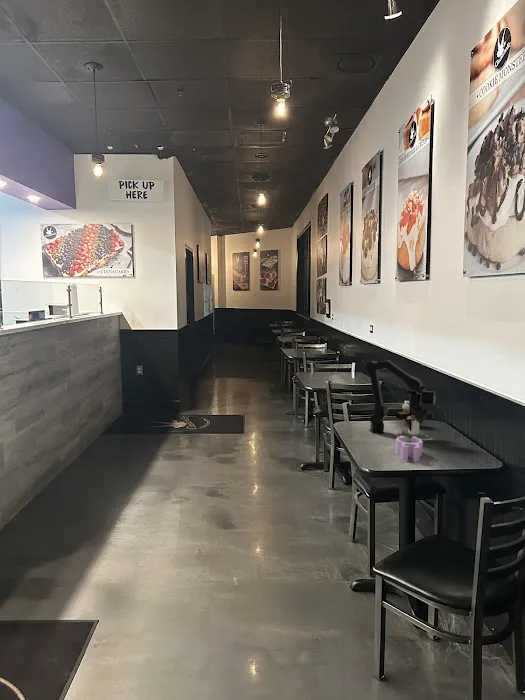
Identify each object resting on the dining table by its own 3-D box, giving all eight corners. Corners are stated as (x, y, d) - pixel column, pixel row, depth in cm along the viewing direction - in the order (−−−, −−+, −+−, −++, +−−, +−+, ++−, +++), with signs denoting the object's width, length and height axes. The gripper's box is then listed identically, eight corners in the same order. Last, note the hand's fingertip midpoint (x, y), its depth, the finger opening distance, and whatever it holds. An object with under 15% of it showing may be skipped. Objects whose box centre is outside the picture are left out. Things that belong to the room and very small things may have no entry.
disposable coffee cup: (403, 422, 323) (404, 402, 322) (419, 424, 319) (420, 404, 318) (399, 425, 315) (400, 405, 313) (416, 427, 310) (417, 407, 309)
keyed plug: (413, 437, 286) (414, 420, 284) (408, 435, 291) (408, 417, 290) (419, 437, 286) (420, 419, 285) (414, 434, 292) (415, 417, 291)
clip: (424, 463, 247) (425, 448, 246) (396, 461, 249) (397, 446, 248) (420, 450, 266) (421, 436, 266) (394, 448, 269) (395, 435, 268)
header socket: (410, 439, 283) (410, 435, 283) (401, 434, 293) (401, 430, 293) (425, 438, 285) (425, 434, 285) (416, 433, 295) (416, 429, 295)
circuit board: (404, 441, 282) (404, 438, 282) (394, 435, 293) (394, 432, 293) (432, 440, 285) (432, 437, 285) (421, 434, 297) (421, 431, 297)
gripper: (405, 406, 277) (404, 435, 279) (438, 405, 281) (437, 434, 283) (396, 401, 288) (394, 430, 290) (428, 400, 292) (426, 428, 294)
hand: (413, 431), depth 289 cm, fingers closed on keyed plug, 3 cm apart
